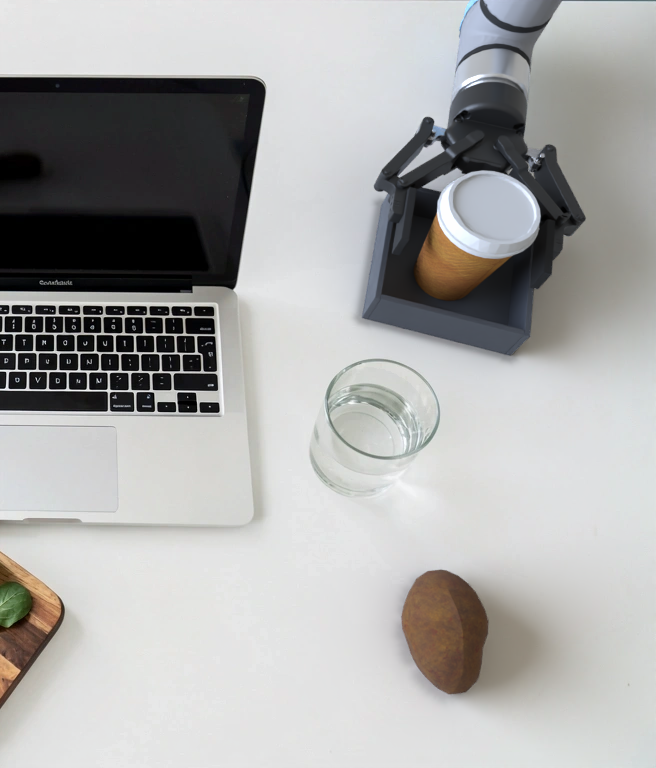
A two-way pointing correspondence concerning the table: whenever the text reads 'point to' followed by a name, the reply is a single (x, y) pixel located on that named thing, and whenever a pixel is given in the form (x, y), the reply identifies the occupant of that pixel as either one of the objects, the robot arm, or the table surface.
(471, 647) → the potato
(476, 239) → the disposable coffee cup
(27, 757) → the table surface
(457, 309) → the bin
